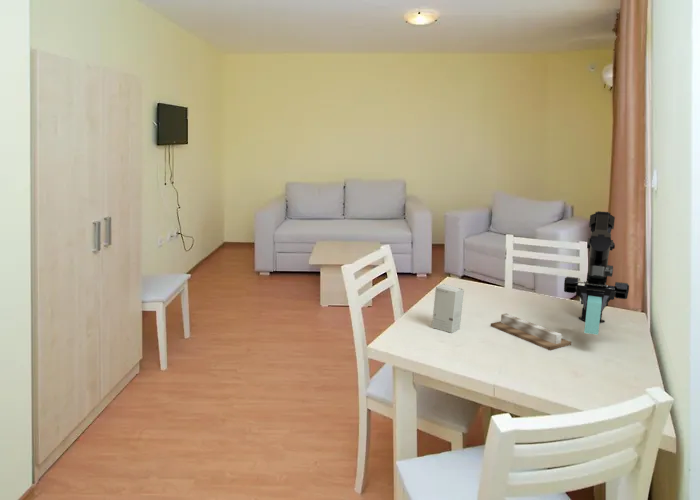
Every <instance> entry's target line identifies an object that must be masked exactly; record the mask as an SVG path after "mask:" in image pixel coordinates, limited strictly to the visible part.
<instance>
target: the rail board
mask: <svg viewBox="0 0 700 500" xmlns="http://www.w3.org/2000/svg"><path fill="white" fill-rule="evenodd" d="M490 327H492V328H494V329H497V330H499V331H502V332H504V333H506V334H509V335H511V336H514V337H516V338H518V339H521V340H524V341H526V342H528V343H531V344H534V345H536V346H539V347H540V348H542V349H543V348H544V349H546V350H548V351H552V350H553V351H554V350H557V349H561V348H564V347H569V346H572V341H570V340H567V339H564V338H562V335H563V334H562V333H560V332H557V331H554V330H551V329H549V328H546V327H544V326H541V325H538V324H536V323H533V322H530V321H527V320H525V319H522V318H520V317H517V316H514V315H512V314H509V313H502V314H501V315H500V321H496V322H491V323H490Z"/></svg>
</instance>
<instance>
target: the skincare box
mask: <svg viewBox="0 0 700 500" xmlns="http://www.w3.org/2000/svg"><path fill="white" fill-rule="evenodd" d="M464 292H465V289H464V288H461V287H458V286H453V285H449V284H445V283H443V284H440V285H437V286H435V292H434V300H433V301H434V302H433V313H432V322H431V323H432V324H431V327H432V328H433V329H436V330H439V331H440V330H441V331H443V332H448V333H451V334H452V333H454V332H457V331H459V330H460V329H461V322H462V321H461V320H462V314H463V313H462V311H463V301H464Z"/></svg>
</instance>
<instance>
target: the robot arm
mask: <svg viewBox="0 0 700 500" xmlns="http://www.w3.org/2000/svg"><path fill="white" fill-rule="evenodd" d="M615 219H616V217H615V216H614V215H612V214H611V212H609V211H599V210H597V211H595V213H593V214H591V215H590V216H589V222H588V223H589V225H588V228H590V237H588V238H587V245H586V246H587V247H586V249H589V251H588V252H589V256H588V266H587V271H586V272H587V273H586V280H585V281H583V280H582V281H581V280H579V277H572V276H566V277H565V278H564V284H563V291H564V292H565V293H568V294H569V293H571V294H575V295H576V296H577V297H579V298H580V305H583V306H582V308H581V316H579V317H578V319H579V320H581V321H584V322H585V321H586V311H587V302H588V296H596V297H602V305H601V314H600V323H605V322H606V320H605V319H602V317H603V311H604V310H605V308H606V307H608V305H609V303H610V301H612V300H615V299H619V300H620V299H622V300H628V296H629V290H630V284H628V283H627V282H621V281H620V282H619V281H615V283H614V285H608V284H607V281H608V277H613V273H614V265H609V255H610V252H612V251H613V250H614V249H616V244H615V242H614V239H612V230H614V227H615Z"/></svg>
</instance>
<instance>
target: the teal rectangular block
mask: <svg viewBox="0 0 700 500" xmlns="http://www.w3.org/2000/svg"><path fill="white" fill-rule="evenodd" d="M601 305H602V297H596V296H588V302H587V311H586V321H584V332H583V333H584V334H590V335H599V332H600V331H599V329H600V323H601V322H600V314H601Z"/></svg>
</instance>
